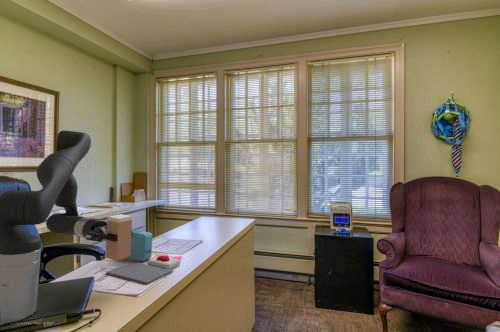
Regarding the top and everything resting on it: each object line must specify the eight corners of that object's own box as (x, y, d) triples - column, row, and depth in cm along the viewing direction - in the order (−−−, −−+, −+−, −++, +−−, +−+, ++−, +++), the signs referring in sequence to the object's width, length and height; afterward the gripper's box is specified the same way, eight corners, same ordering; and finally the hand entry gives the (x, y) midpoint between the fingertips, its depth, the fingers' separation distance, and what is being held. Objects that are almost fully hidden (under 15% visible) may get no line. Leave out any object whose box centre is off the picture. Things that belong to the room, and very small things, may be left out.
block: (116, 260, 91) (118, 218, 91) (105, 257, 94) (107, 216, 93) (130, 255, 96) (132, 216, 96) (119, 252, 99) (120, 214, 98)
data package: (151, 259, 125) (153, 232, 125) (144, 262, 121) (145, 234, 121) (131, 255, 129) (132, 229, 130) (123, 257, 125) (125, 231, 125)
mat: (147, 284, 97) (147, 282, 97) (105, 274, 105) (106, 271, 105) (172, 272, 110) (172, 270, 110) (134, 263, 118) (134, 261, 118)
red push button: (184, 255, 121) (168, 261, 112) (183, 265, 120) (167, 272, 111) (162, 250, 126) (146, 255, 117) (162, 260, 126) (145, 266, 117)
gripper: (71, 222, 94) (106, 229, 87) (108, 215, 107) (141, 221, 100) (71, 243, 94) (105, 253, 87) (108, 234, 107) (140, 241, 100)
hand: (124, 236), depth 94 cm, fingers closed on block, 5 cm apart
